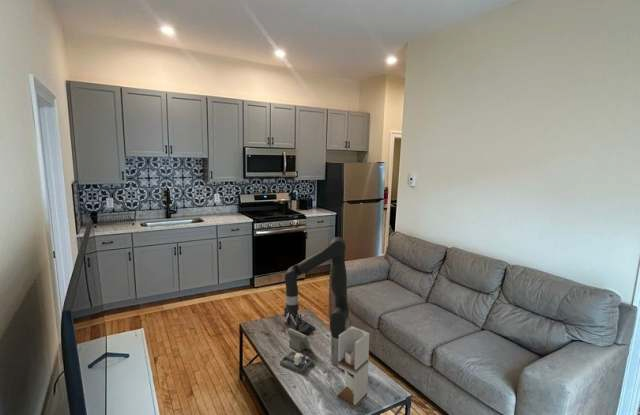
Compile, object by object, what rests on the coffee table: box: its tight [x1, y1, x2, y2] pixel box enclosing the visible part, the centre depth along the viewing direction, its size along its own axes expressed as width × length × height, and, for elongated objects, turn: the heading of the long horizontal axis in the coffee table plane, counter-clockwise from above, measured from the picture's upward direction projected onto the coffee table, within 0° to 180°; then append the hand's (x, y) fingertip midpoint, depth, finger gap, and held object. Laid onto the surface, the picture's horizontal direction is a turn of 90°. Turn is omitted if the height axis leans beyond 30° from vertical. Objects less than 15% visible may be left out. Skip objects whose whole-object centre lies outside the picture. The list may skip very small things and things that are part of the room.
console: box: [279, 350, 315, 375], centre depth 198 cm, size 16×12×4 cm
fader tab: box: [294, 352, 303, 365], centre depth 194 cm, size 2×4×5 cm, turn 148°
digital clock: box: [287, 327, 311, 353], centre depth 214 cm, size 16×9×11 cm, turn 39°
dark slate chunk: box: [283, 318, 316, 335], centre depth 238 cm, size 15×22×5 cm
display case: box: [336, 325, 370, 409], centre depth 169 cm, size 11×11×35 cm
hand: (292, 327), depth 199 cm, fingers open, 8 cm apart
